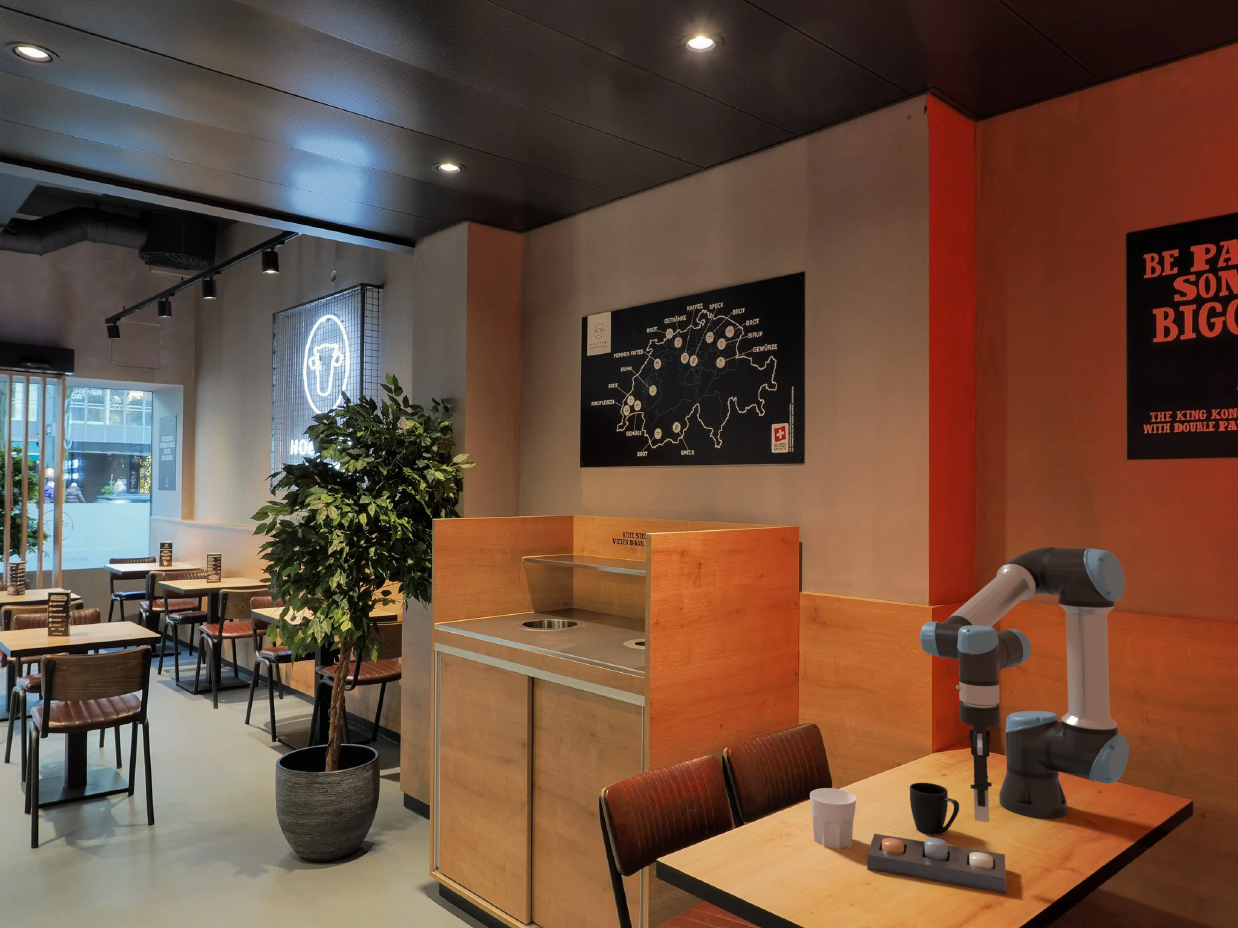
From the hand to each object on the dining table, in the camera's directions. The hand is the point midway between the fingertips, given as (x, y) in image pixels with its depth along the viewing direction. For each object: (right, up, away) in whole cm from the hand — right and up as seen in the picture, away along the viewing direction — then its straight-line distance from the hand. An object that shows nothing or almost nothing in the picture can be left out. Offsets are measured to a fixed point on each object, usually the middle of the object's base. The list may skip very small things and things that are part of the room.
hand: (981, 819), depth 170 cm
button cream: (0, -11, -1) cm, 11 cm away
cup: (-26, -12, +17) cm, 33 cm away
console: (-8, -11, +3) cm, 14 cm away
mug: (-1, -12, +22) cm, 25 cm away
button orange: (-16, -11, +6) cm, 20 cm away
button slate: (-8, -9, +3) cm, 13 cm away
